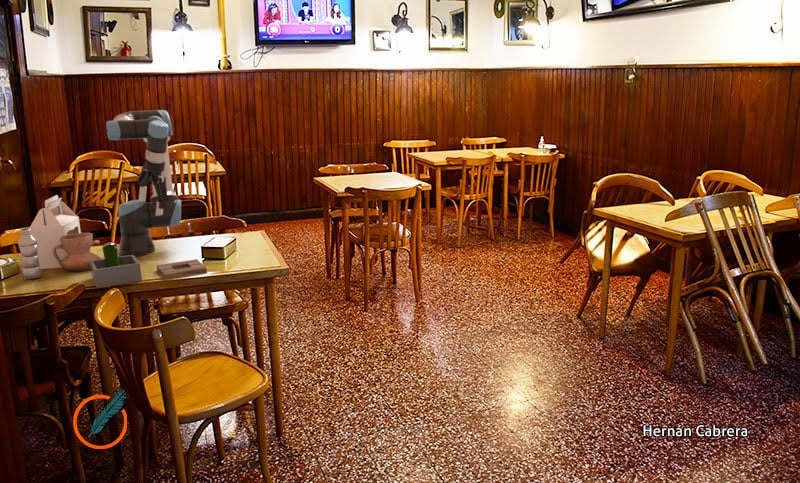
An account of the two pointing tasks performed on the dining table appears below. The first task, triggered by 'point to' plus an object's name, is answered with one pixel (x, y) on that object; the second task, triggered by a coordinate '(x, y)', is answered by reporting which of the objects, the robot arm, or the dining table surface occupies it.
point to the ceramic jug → (76, 251)
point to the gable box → (53, 230)
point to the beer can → (111, 254)
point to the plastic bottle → (29, 254)
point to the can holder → (181, 269)
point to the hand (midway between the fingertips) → (150, 207)
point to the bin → (116, 272)
